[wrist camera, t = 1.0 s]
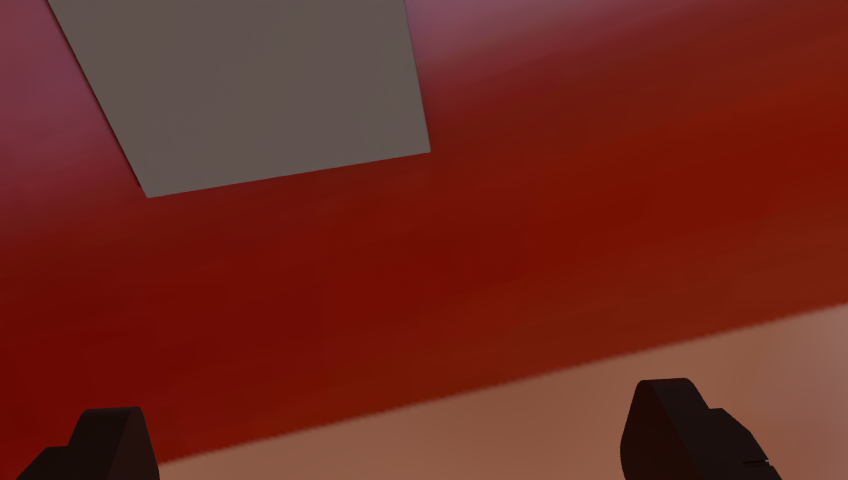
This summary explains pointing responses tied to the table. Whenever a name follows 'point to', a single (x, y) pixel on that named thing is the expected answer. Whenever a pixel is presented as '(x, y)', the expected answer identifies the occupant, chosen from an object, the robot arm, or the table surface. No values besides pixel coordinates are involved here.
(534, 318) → the table surface
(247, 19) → the mat
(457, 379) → the table surface
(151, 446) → the robot arm
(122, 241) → the table surface
